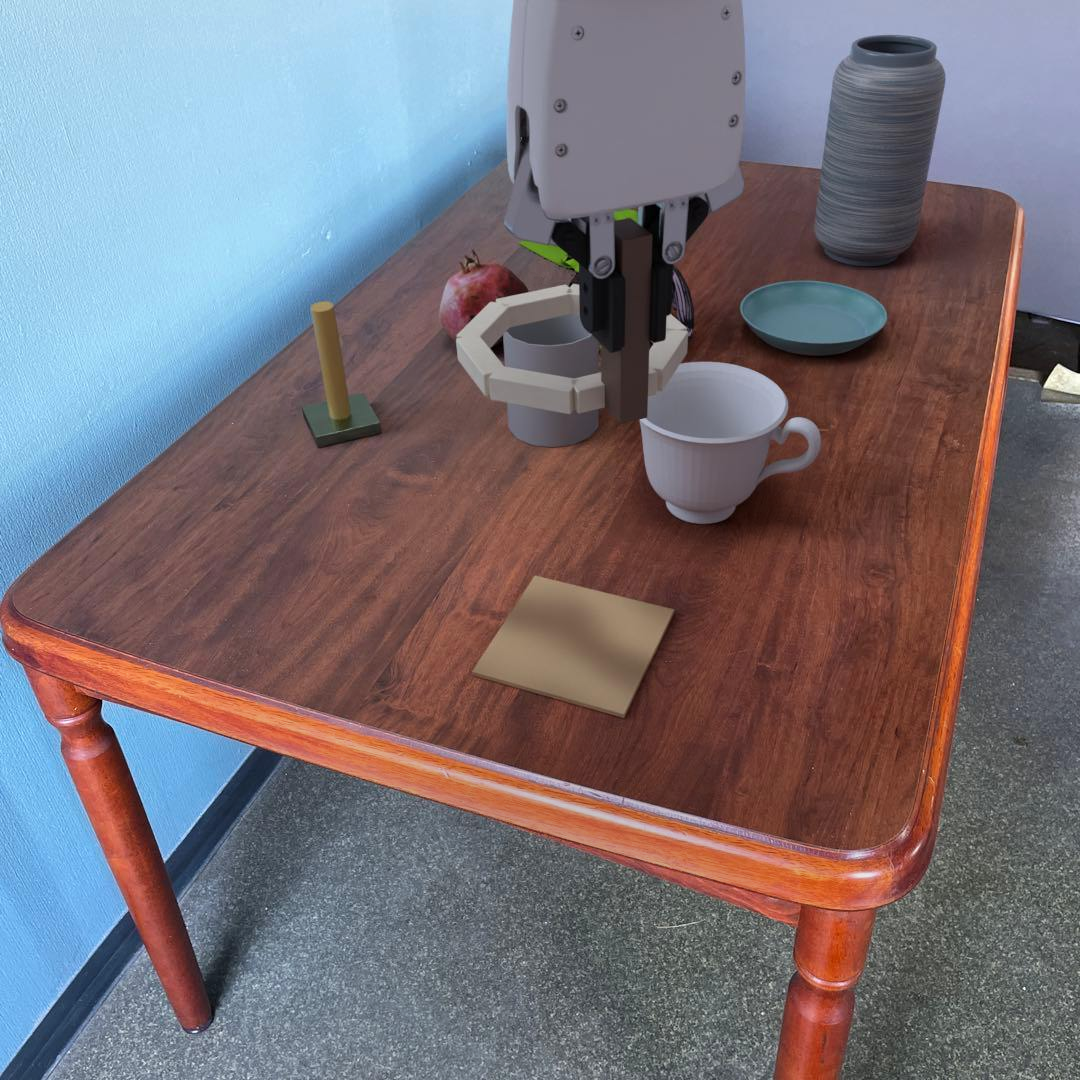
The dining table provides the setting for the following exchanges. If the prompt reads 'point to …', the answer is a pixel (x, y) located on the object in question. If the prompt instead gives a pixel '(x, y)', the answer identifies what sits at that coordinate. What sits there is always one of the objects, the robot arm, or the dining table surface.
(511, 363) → the cup
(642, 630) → the cork pad
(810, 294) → the saucer
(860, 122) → the vase
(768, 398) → the teacup
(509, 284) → the fruit
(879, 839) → the dining table surface
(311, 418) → the stand
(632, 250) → the ring
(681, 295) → the decorative flower
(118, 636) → the dining table surface
